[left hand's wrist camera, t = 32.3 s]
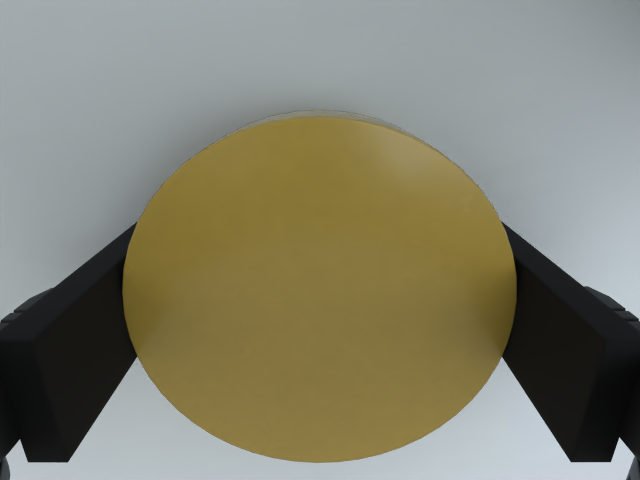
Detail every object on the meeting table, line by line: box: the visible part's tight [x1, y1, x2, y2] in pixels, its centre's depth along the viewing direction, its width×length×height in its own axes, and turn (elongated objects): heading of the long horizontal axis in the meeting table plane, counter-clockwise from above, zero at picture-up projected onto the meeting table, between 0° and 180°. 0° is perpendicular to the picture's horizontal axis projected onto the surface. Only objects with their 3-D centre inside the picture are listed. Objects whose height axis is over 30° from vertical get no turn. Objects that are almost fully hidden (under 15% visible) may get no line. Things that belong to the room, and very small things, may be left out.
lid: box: [122, 110, 517, 463], centre depth 11 cm, size 10×10×2 cm
